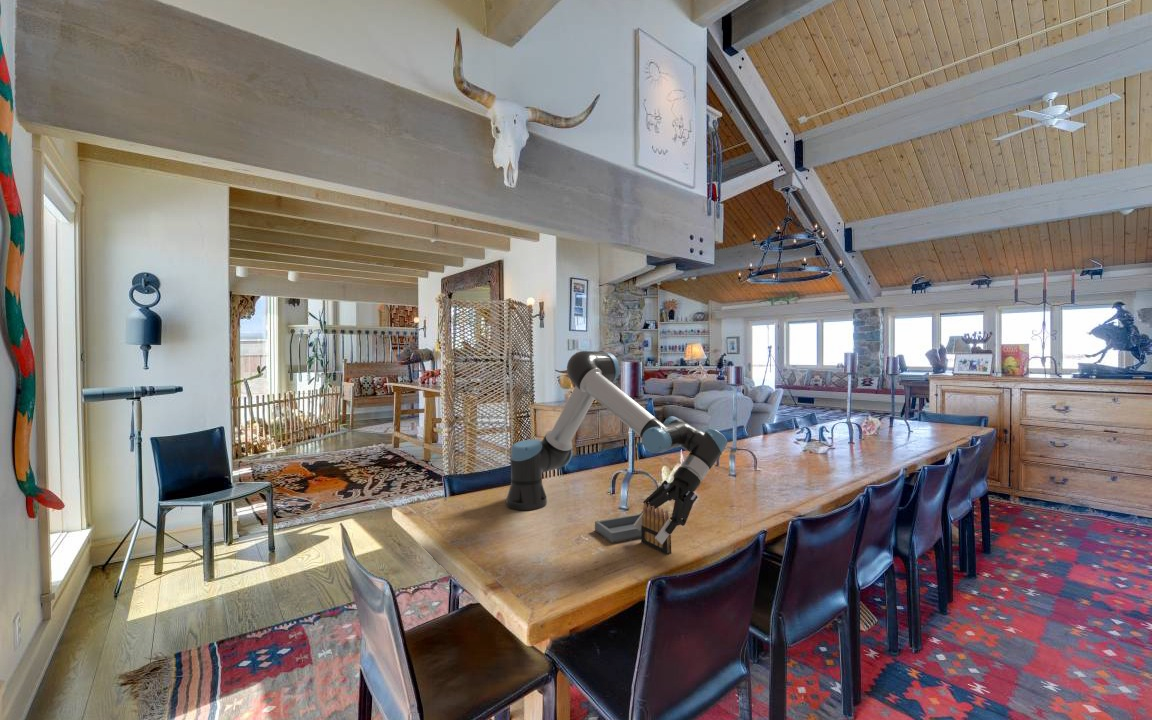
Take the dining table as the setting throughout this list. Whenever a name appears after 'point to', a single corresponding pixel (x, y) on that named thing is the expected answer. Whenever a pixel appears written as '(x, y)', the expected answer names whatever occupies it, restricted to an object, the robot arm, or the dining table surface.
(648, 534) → the ammunition clip
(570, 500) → the dining table surface
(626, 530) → the tray
